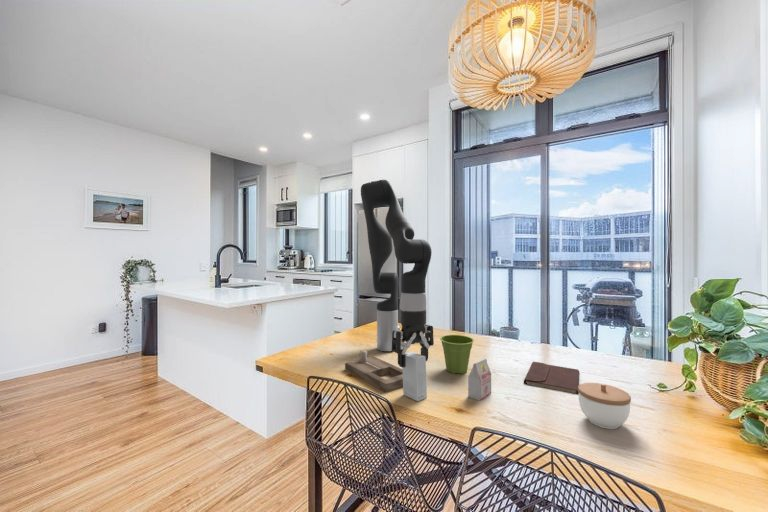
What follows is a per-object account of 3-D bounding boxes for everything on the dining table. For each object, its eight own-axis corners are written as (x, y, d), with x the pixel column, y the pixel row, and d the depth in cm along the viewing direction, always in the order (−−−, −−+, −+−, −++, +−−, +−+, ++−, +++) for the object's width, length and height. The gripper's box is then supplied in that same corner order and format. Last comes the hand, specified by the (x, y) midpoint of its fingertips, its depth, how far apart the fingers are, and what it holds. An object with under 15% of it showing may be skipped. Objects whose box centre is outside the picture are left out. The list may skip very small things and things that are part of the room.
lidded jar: (608, 411, 85) (608, 375, 85) (642, 434, 74) (642, 393, 74) (568, 412, 85) (568, 376, 84) (597, 435, 74) (597, 394, 74)
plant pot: (435, 373, 112) (435, 340, 112) (445, 362, 123) (445, 333, 122) (469, 379, 107) (469, 345, 106) (477, 367, 117) (477, 336, 117)
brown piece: (372, 362, 123) (372, 346, 123) (415, 382, 104) (415, 364, 104) (345, 369, 116) (345, 352, 116) (386, 392, 97) (385, 372, 97)
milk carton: (468, 396, 94) (468, 362, 94) (479, 389, 99) (479, 356, 99) (479, 400, 91) (479, 365, 91) (491, 393, 96) (491, 359, 96)
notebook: (579, 374, 112) (579, 368, 112) (578, 395, 95) (578, 389, 95) (532, 366, 120) (532, 360, 120) (523, 384, 103) (523, 378, 103)
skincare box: (427, 397, 93) (427, 355, 93) (416, 402, 90) (416, 359, 90) (412, 390, 98) (412, 350, 98) (401, 394, 95) (401, 353, 95)
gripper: (422, 304, 101) (422, 356, 101) (386, 308, 92) (386, 365, 92) (439, 307, 95) (439, 362, 95) (402, 312, 86) (403, 372, 86)
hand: (413, 363), depth 94 cm, fingers open, 8 cm apart
